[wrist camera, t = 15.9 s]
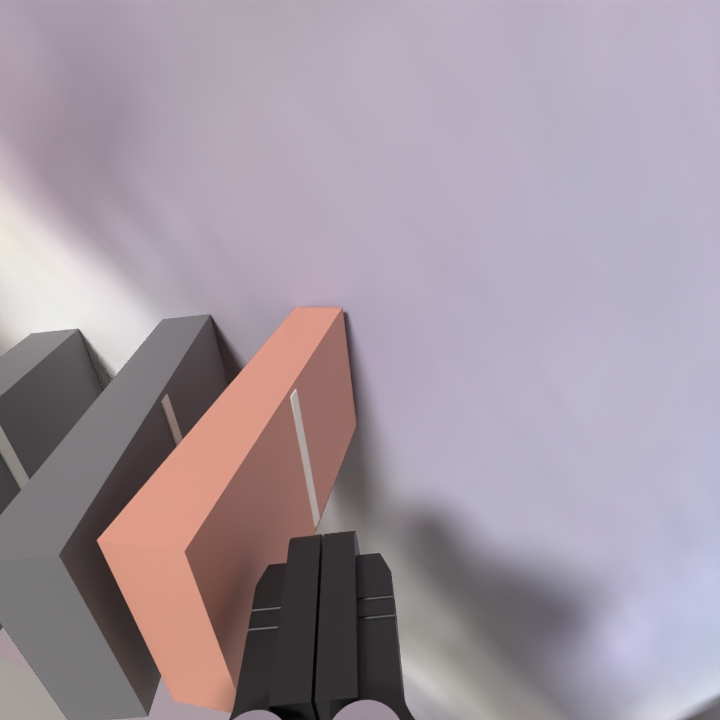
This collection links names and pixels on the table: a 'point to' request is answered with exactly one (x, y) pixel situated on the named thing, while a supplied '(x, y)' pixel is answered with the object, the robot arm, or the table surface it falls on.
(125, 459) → the domino
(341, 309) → the domino
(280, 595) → the robot arm
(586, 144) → the table surface
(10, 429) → the domino
